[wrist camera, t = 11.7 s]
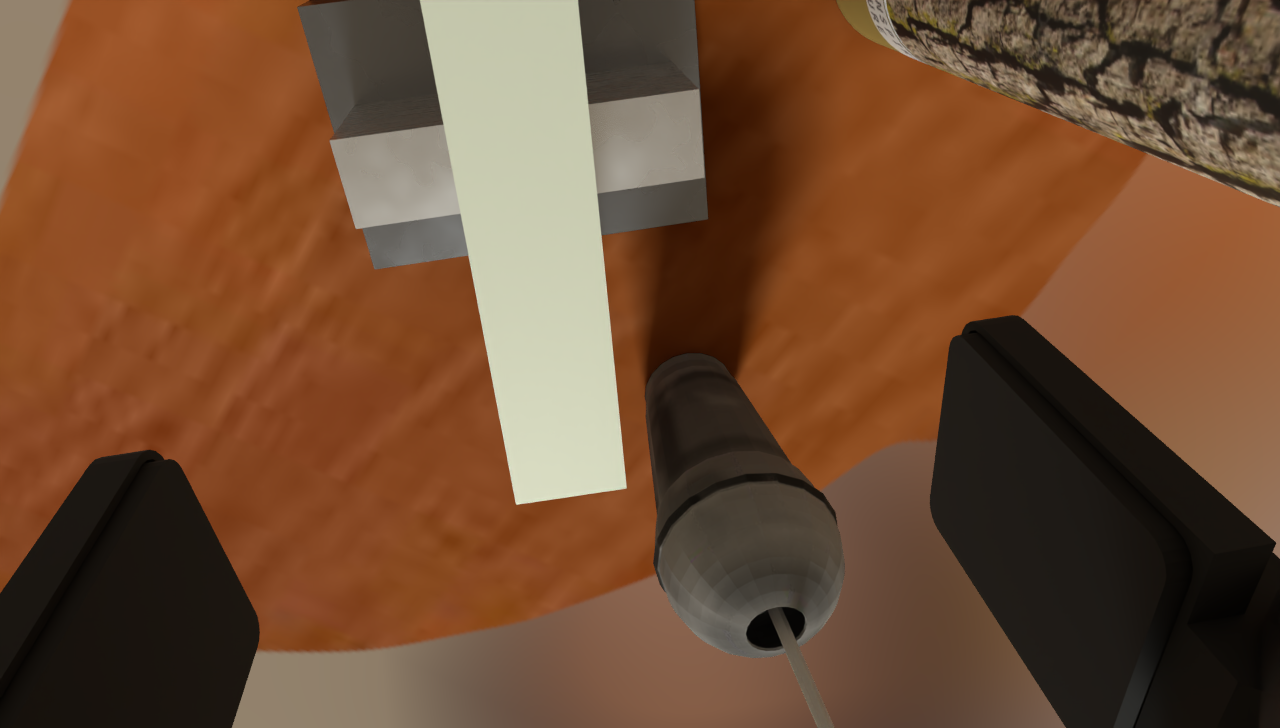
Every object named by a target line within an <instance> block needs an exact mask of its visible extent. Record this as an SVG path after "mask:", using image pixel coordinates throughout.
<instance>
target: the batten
mask: <svg viewBox="0 0 1280 728" xmlns="http://www.w3.org/2000/svg"><path fill="white" fill-rule="evenodd" d="M420 4H421V9H422V14H423V19H424V25H425V30H426V35H427V40H428V45H429V51H430V56H431V61H432V66H433V72H434V77H435V82H436V87H437V93H438V98H439V103H440V108H441V114H442V119H443V124H444V129H445V134H446V140H447V145H448V150H449V155H450V161H451V166H452V171H453V176H454V182H455V187H456V192H457V197H458V203H459V208H460V213H461V218H462V224H463V229H464V234H465V239H466V244H467V250H468V255H469V260H470V265H471V271H472V276H473V281H474V286H475V292H476V297H477V302H478V307H479V313H480V318H481V323H482V328H483V333H484V339H485V344H486V349H487V354H488V360H489V365H490V370H491V375H492V381H493V386H494V391H495V396H496V402H497V407H498V412H499V417H500V422H501V428H502V433H503V438H504V443H505V449H506V454H507V459H508V464H509V470H510V475H511V480H512V485H513V491H514V496H515V501H516V505H517V504H524V503H531V502H537V501H544V500H551V499H558V498H565V497H572V496H578V495H585V494H592V493H599V492H606V491H613V490H619V489H626V478H625V468H624V458H623V448H622V438H621V428H620V418H619V407H618V397H617V387H616V377H615V367H614V357H613V347H612V337H611V327H610V317H609V307H608V297H607V287H606V277H605V267H604V257H603V247H602V237H601V227H600V217H599V207H598V197H597V187H596V177H595V167H594V157H593V147H592V137H591V127H590V117H589V107H588V97H587V87H586V77H585V67H584V57H583V47H582V37H581V27H580V17H579V7H578V0H420Z"/></svg>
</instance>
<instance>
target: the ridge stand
mask: <svg viewBox="0 0 1280 728" xmlns="http://www.w3.org/2000/svg"><path fill="white" fill-rule="evenodd" d="M578 7H579V17H580V27H581V37H582V47H583V57H584V67H585V77H586V87H587V97H588V107H589V117H590V127H591V137H592V147H593V157H594V167H595V177H596V187H597V197H598V207H599V217H600V227H601V235H607V234H613V233H620V232H627V231H633V230H640V229H647V228H653V227H660V226H667V225H673V224H680V223H687V222H693V221H700V220H706V219H708V209H707V193H706V177H705V161H704V145H703V129H702V113H701V97H700V81H699V66H698V50H697V34H696V18H695V2H694V0H578ZM297 8H298V11H299V15H300V18H301V22H302V25H303V28H304V32H305V35H306V39H307V42H308V45H309V49H310V52H311V55H312V59H313V62H314V66H315V69H316V72H317V76H318V79H319V83H320V86H321V89H322V93H323V96H324V100H325V103H326V106H327V110H328V113H329V116H330V120H331V123H332V127H333V130H334V133H335V134H334V135H333V136H332V138H331V139H330V144H331V147H332V151H333V154H334V157H335V161H336V164H337V167H338V171H339V174H340V177H341V181H342V184H343V187H344V191H345V194H346V197H347V201H348V204H349V207H350V211H351V214H352V217H353V221H354V224H355V227H356V229H359V228H363V232H364V235H365V239H366V242H367V245H368V249H369V252H370V256H371V259H372V262H373V266H374V269H381V268H388V267H394V266H401V265H407V264H414V263H421V262H427V261H434V260H441V259H447V258H454V257H461V256H467V255H468V250H467V244H466V239H465V234H464V229H463V224H462V218H461V213H460V208H459V203H458V197H457V192H456V187H455V182H454V176H453V171H452V166H451V161H450V155H449V150H448V145H447V140H446V134H445V129H444V124H443V119H442V114H441V108H440V103H439V98H438V93H437V87H436V82H435V77H434V72H433V66H432V61H431V56H430V51H429V45H428V40H427V35H426V30H425V25H424V19H423V14H422V9H421V4H420V0H310V1H307V2H306V3H304V4H302V5H300V6H298V7H297Z"/></svg>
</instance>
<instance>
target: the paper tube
mask: <svg viewBox="0 0 1280 728" xmlns="http://www.w3.org/2000/svg"><path fill="white" fill-rule="evenodd" d="M836 2H837V4H838V6H839V8H840V10H841V12H842V14H843V15H844V17H845V18H846V20H847V21H848V22H849V23H850V24H851V25H852V27H853V28H854V29H855V30H857V31H858V32H859V33H860V34H861V35H863V36H864V37H866V38H867V39H869V40H871V41H873V42H876V43H878V44H881V45H883V46H885V47H888V48H890V49H893V50H895V51H898V52H900V53H902V54H904V55H907V56H909V57H911V58H913V59H916V60H918V61H921V62H923V63H926V64H928V65H931V66H933V67H935V68H938V69H940V70H943V71H945V72H948V73H950V74H953V75H955V76H958V77H960V78H962V79H965V80H967V81H970V82H972V83H975V84H977V85H980V86H982V87H985V88H987V89H990V90H992V91H995V92H997V93H999V94H1002V95H1004V96H1007V97H1009V98H1012V99H1014V100H1017V101H1019V102H1022V103H1024V104H1027V105H1029V106H1031V107H1034V108H1036V109H1039V110H1041V111H1044V112H1046V113H1049V114H1051V115H1054V116H1056V117H1059V118H1061V119H1064V120H1066V121H1068V122H1071V123H1073V124H1076V125H1078V126H1081V127H1083V128H1086V129H1088V130H1091V131H1093V132H1096V133H1098V134H1101V135H1103V136H1105V137H1108V138H1110V139H1113V140H1115V141H1118V142H1120V143H1123V144H1125V145H1128V146H1130V147H1133V148H1135V149H1137V150H1140V151H1142V152H1145V153H1147V154H1150V155H1152V156H1155V157H1157V158H1160V159H1162V160H1165V161H1167V162H1170V163H1172V164H1174V165H1177V166H1179V167H1182V168H1184V169H1187V170H1189V171H1192V172H1194V173H1197V174H1199V175H1202V176H1204V177H1207V178H1209V179H1212V180H1214V181H1216V182H1219V183H1222V184H1224V185H1226V186H1229V187H1231V188H1234V189H1236V190H1239V191H1241V192H1244V193H1246V194H1248V195H1251V196H1254V197H1256V198H1258V199H1261V200H1263V201H1266V202H1268V203H1271V204H1273V205H1276V206H1278V207H1280V0H836Z"/></svg>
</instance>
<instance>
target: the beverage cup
mask: <svg viewBox="0 0 1280 728" xmlns="http://www.w3.org/2000/svg"><path fill="white" fill-rule="evenodd" d="M645 400H646V424H647V432H648V441H649V449H650V458H651V466H652V475H653V484H654V492H655V501H656V509H657V522H656V536H655V553H654V562H653V564H654V567H655V570H656V574H657V577H658V580H659V583H660V585H661V587H662V588H663V590H664V591H665V592H666V593H667V596H668V599H669V602H670V604H671V605H672V607H673V609H674V611H675V612H676V613H677V614H678V616H679V617H680V618H681V619H682V620H683V621H684V623H686V625H687V626H688V627H689V628H690V629H691V630H692V631H693V632H694V634H695V635H696V636H698V637H699V638H700V639H702V640H703V641H705V642H706V643H708V644H710V645H712V646H714V647H716V648H718V649H720V650H722V651H725V652H727V653H729V654H733V655H738V656H744V657H750V658H762V657H773V656H776V655H780V654H784V653H786V654H787V657H788V659H789V662H790V664H791V666H792V669H793V671H794V673H795V676H796V678H797V680H798V683H799V685H800V687H801V689H802V692H803V694H804V697H805V699H806V701H807V704H808V706H809V708H810V711H811V713H812V716H813V718H814V720H815V723H816V725H817V727H818V728H834V726H833V723H832V721H831V719H830V717H829V714H828V712H827V710H826V707H825V705H824V703H823V701H822V698H821V696H820V694H819V692H818V689H817V687H816V685H815V682H814V680H813V678H812V676H811V673H810V671H809V669H808V666H807V664H806V662H805V660H804V657H803V655H802V653H801V651H800V648H799V646H801V645H803V644H805V643H806V642H807V641H808V640H810V639H811V638H812V637H813V636H814V635H815V634H817V632H819V631H820V630H821V629H822V628H823V626H824V625H825V623H826V622H827V620H828V619H829V617H830V616H831V614H832V613H833V611H834V609H835V607H836V605H837V602H838V598H839V595H840V591H841V588H842V583H843V579H844V569H845V563H844V556H843V549H842V543H841V538H840V532H839V530H838V527H837V520H836V514H835V511H834V509H833V508H832V506H831V505H830V503H829V502H828V501H827V499H826V497H825V496H824V494H823V493H822V492H820V491H819V490H817V489H816V488H814V486H813V485H812V483H811V482H810V481H809V480H808V479H807V478H806V477H805V476H804V475H803V473H802V472H801V471H800V470H799V469H798V468H796V467H795V466H793V465H792V464H791V462H790V461H789V459H788V458H787V456H786V455H785V453H784V452H783V450H782V449H781V447H780V446H779V444H778V443H777V441H776V440H775V438H774V437H773V435H772V434H771V432H770V431H769V429H768V428H767V426H766V425H765V423H764V422H763V420H762V419H761V417H760V416H759V414H758V413H757V411H756V410H755V408H754V407H753V405H752V404H751V402H750V401H749V399H748V398H747V396H746V395H745V393H744V392H743V390H742V389H741V387H740V386H739V384H738V383H737V381H736V380H735V378H734V377H732V376H731V374H730V373H729V371H728V370H727V368H726V367H725V365H724V364H723V363H721V362H720V361H718V360H717V359H716V358H714V357H712V356H708V355H705V354H702V353H686V354H682V355H679V356H675V357H672V358H671V359H669V360H667V361H666V362H664V363H663V364H661V365H660V366H659V367H658V368H657V369H656V370H655V371H654V372H653V374H652V375H651V377H650V379H649V381H648V383H647V385H646V392H645Z"/></svg>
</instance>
